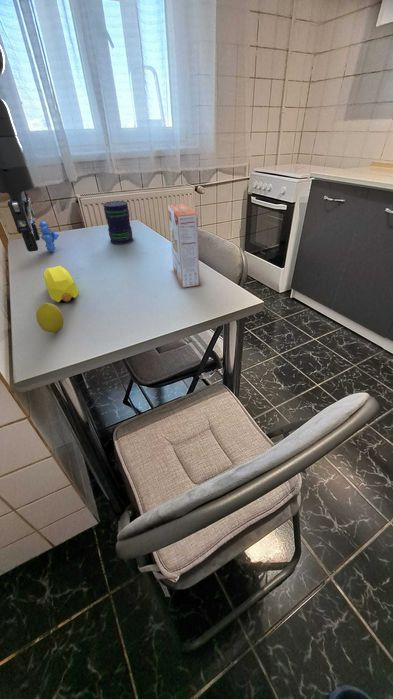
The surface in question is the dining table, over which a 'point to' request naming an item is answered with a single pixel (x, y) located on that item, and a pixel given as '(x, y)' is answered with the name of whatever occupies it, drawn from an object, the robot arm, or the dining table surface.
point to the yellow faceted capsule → (60, 284)
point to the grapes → (48, 236)
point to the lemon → (49, 318)
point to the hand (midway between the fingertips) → (34, 245)
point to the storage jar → (118, 222)
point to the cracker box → (184, 244)
